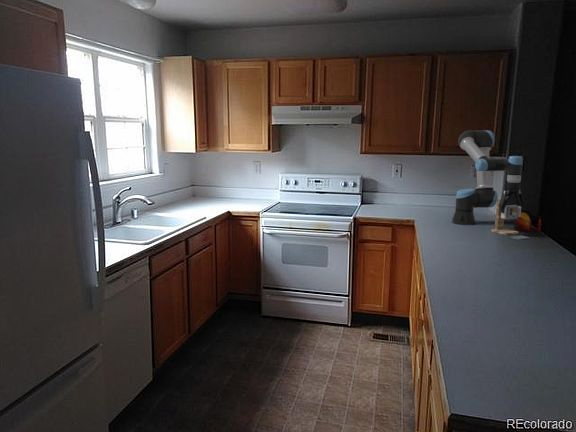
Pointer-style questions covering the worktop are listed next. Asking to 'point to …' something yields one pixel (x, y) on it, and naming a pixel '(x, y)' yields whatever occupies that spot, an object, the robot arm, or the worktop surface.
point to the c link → (514, 214)
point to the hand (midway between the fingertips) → (510, 217)
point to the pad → (520, 237)
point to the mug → (526, 221)
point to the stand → (502, 222)
